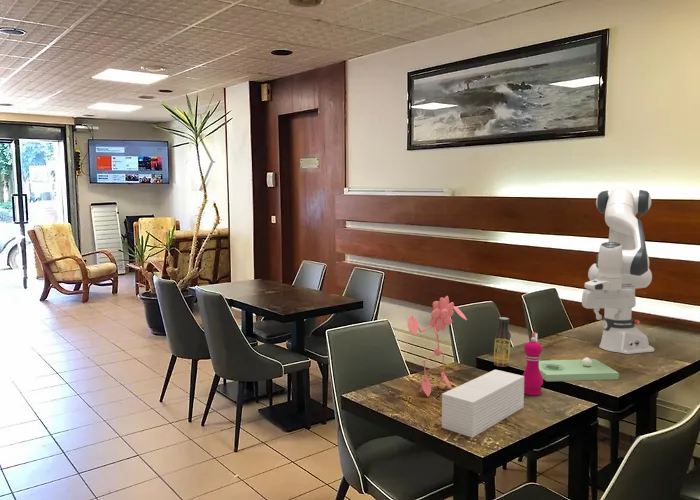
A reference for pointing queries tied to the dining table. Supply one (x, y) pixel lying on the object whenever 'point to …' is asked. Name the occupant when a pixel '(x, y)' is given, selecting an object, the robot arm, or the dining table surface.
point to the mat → (574, 370)
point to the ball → (586, 361)
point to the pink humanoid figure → (438, 320)
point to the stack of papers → (482, 402)
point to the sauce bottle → (502, 344)
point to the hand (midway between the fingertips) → (608, 319)
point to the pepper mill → (532, 368)
